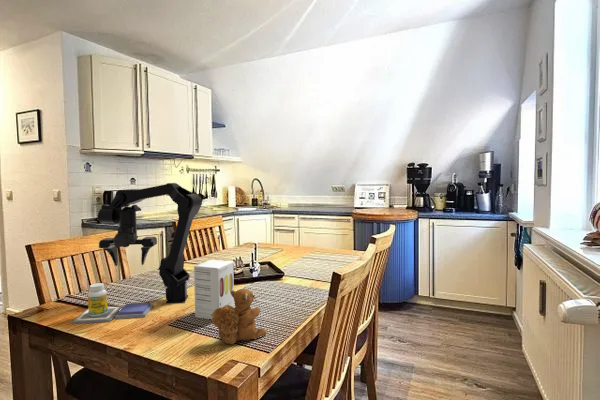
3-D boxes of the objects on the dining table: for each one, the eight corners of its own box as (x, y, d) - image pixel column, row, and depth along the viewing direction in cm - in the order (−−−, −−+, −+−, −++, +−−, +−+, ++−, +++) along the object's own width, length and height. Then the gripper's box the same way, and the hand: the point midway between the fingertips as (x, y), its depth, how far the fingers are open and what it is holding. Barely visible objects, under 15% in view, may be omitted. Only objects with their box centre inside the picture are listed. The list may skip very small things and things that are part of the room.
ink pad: (153, 306, 122) (152, 301, 122) (145, 317, 113) (144, 311, 113) (125, 308, 121) (125, 303, 121) (115, 318, 112) (115, 313, 112)
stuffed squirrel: (269, 334, 101) (268, 289, 100) (228, 353, 90) (227, 303, 89) (247, 324, 107) (246, 282, 106) (206, 340, 97) (205, 294, 96)
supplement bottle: (107, 309, 118) (105, 281, 117) (108, 314, 114) (107, 285, 113) (88, 313, 115) (86, 284, 114) (89, 318, 111) (87, 288, 110)
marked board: (122, 308, 121) (122, 306, 121) (109, 321, 110) (109, 319, 110) (88, 310, 119) (88, 307, 119) (71, 323, 108) (71, 321, 108)
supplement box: (219, 321, 109) (217, 268, 108) (194, 317, 112) (192, 265, 111) (235, 310, 118) (234, 261, 117) (211, 307, 121) (210, 258, 120)
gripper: (90, 227, 121) (93, 272, 122) (147, 226, 123) (149, 270, 124) (104, 222, 132) (106, 264, 133) (156, 221, 134) (158, 262, 135)
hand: (129, 265), depth 131 cm, fingers open, 9 cm apart
